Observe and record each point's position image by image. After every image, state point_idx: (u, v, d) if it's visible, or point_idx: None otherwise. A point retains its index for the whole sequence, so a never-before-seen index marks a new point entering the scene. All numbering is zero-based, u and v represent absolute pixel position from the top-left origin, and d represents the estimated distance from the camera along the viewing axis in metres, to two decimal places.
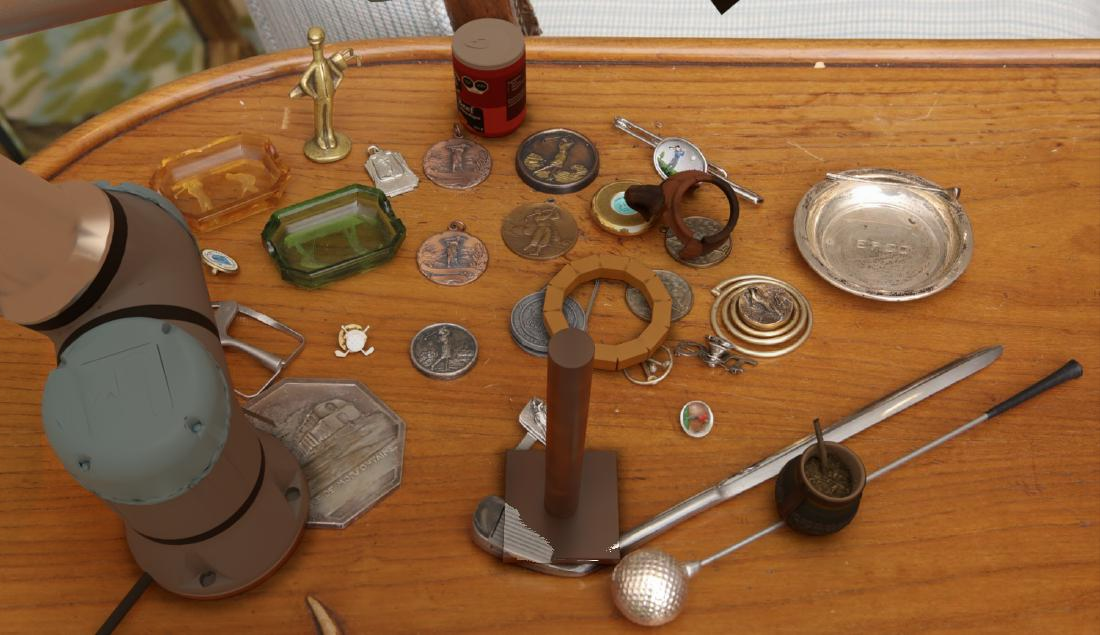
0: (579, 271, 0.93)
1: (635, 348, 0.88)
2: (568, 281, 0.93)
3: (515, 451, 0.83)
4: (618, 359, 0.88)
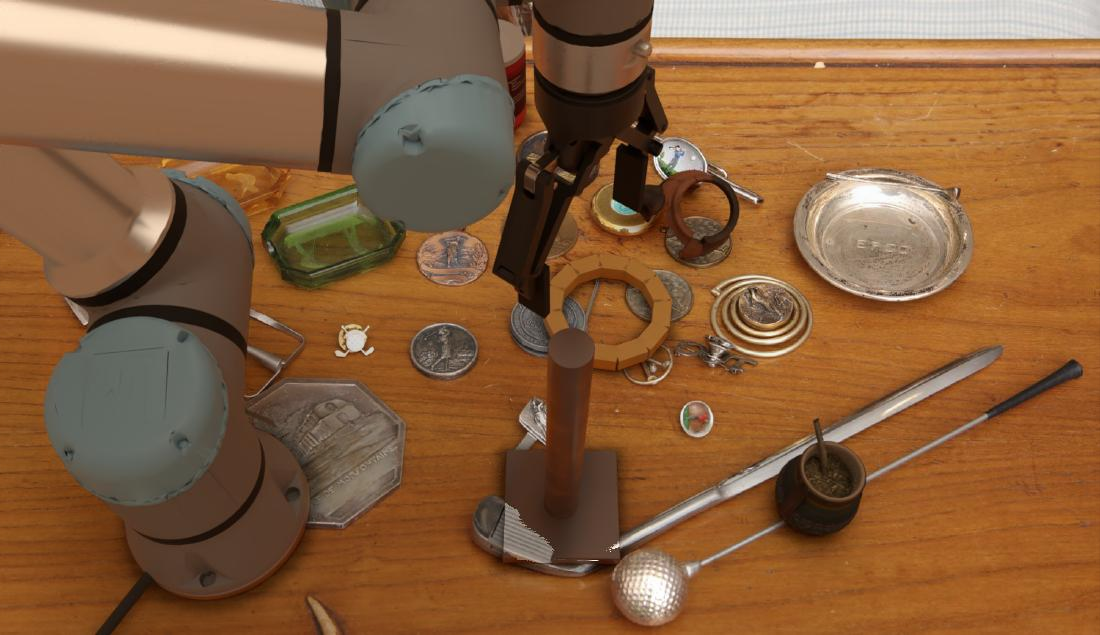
0: (579, 271, 0.93)
1: (635, 348, 0.88)
2: (568, 281, 0.93)
3: (515, 451, 0.83)
4: (618, 359, 0.88)
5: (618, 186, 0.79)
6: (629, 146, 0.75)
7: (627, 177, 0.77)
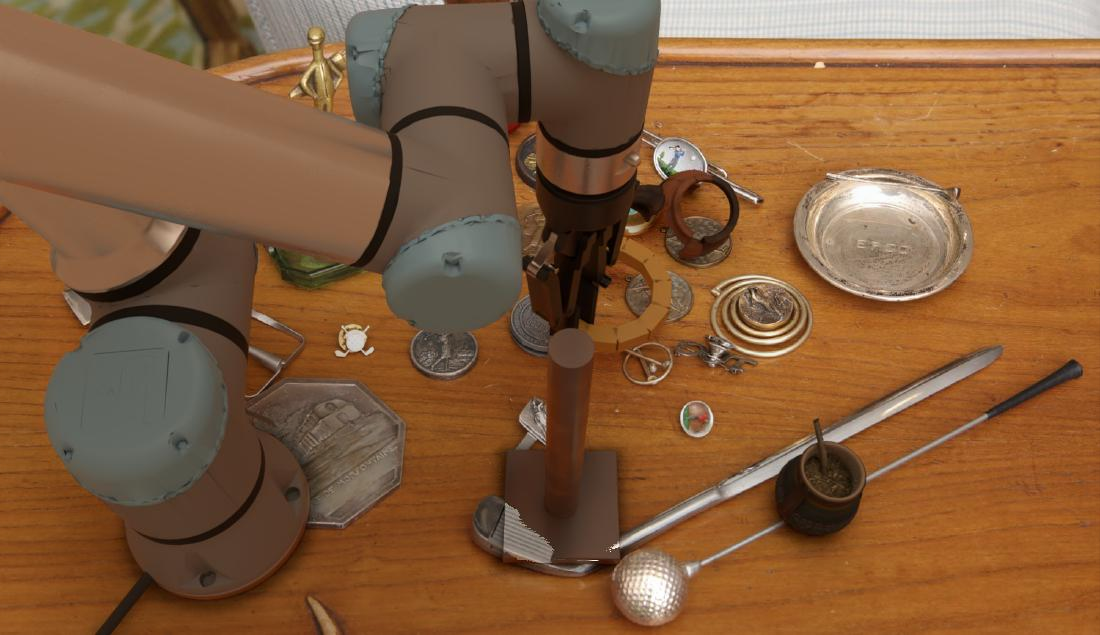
0: None
1: (635, 329, 0.85)
2: None
3: (515, 451, 0.83)
4: (618, 341, 0.85)
5: None
6: (581, 276, 0.82)
7: (579, 302, 0.84)
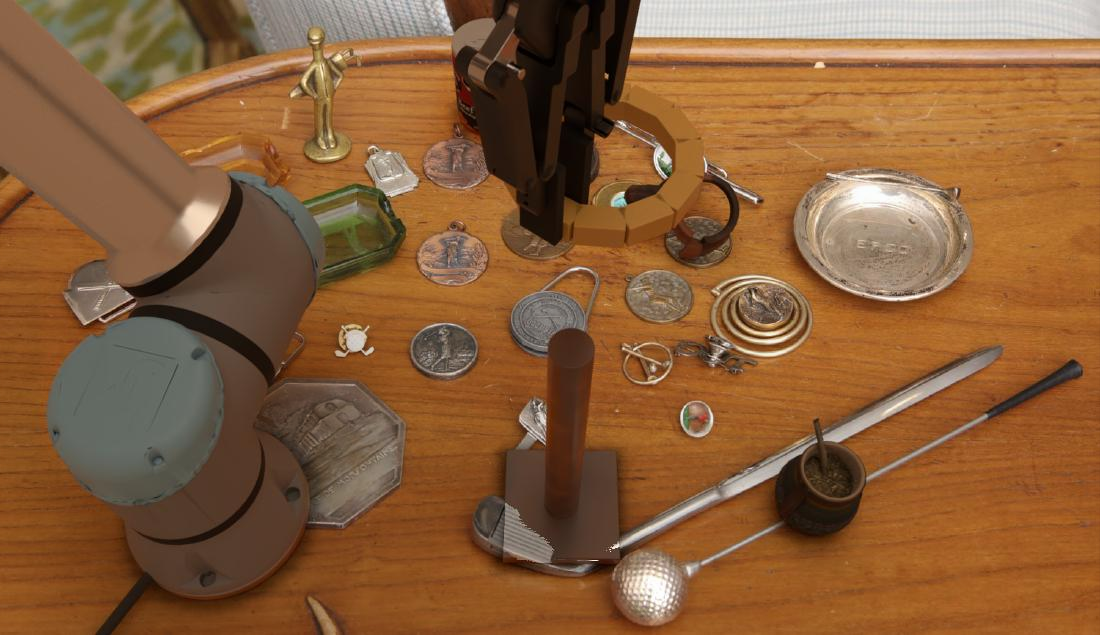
0: None
1: (653, 209, 0.55)
2: None
3: (515, 451, 0.83)
4: (628, 226, 0.55)
5: None
6: (566, 122, 0.52)
7: None
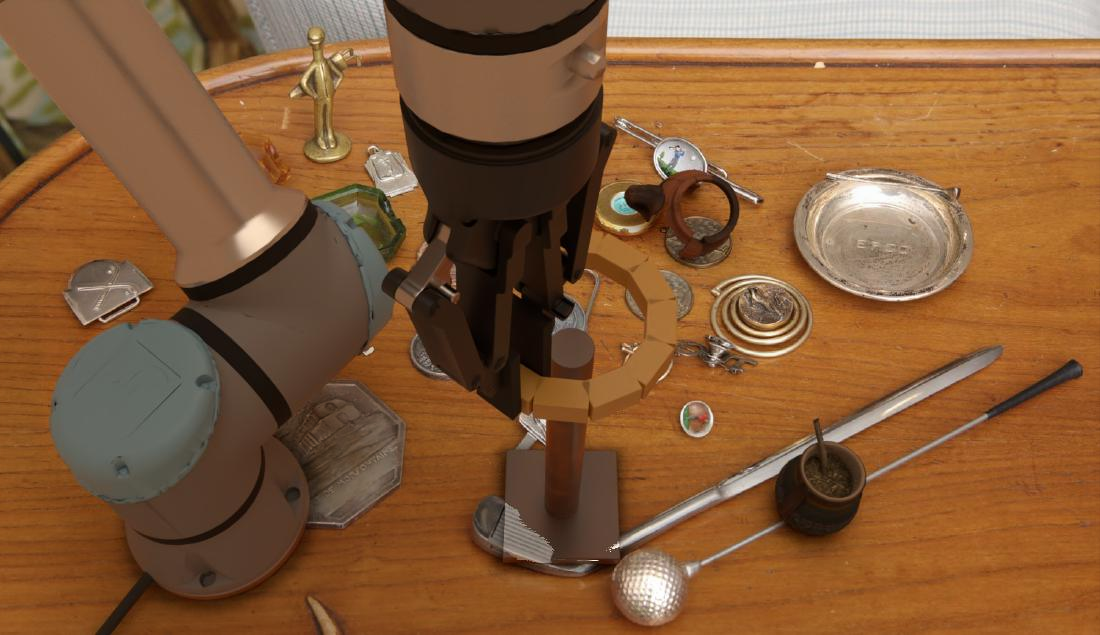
0: None
1: (620, 384, 0.52)
2: None
3: (515, 451, 0.83)
4: (591, 404, 0.51)
5: None
6: (523, 300, 0.48)
7: (523, 342, 0.50)
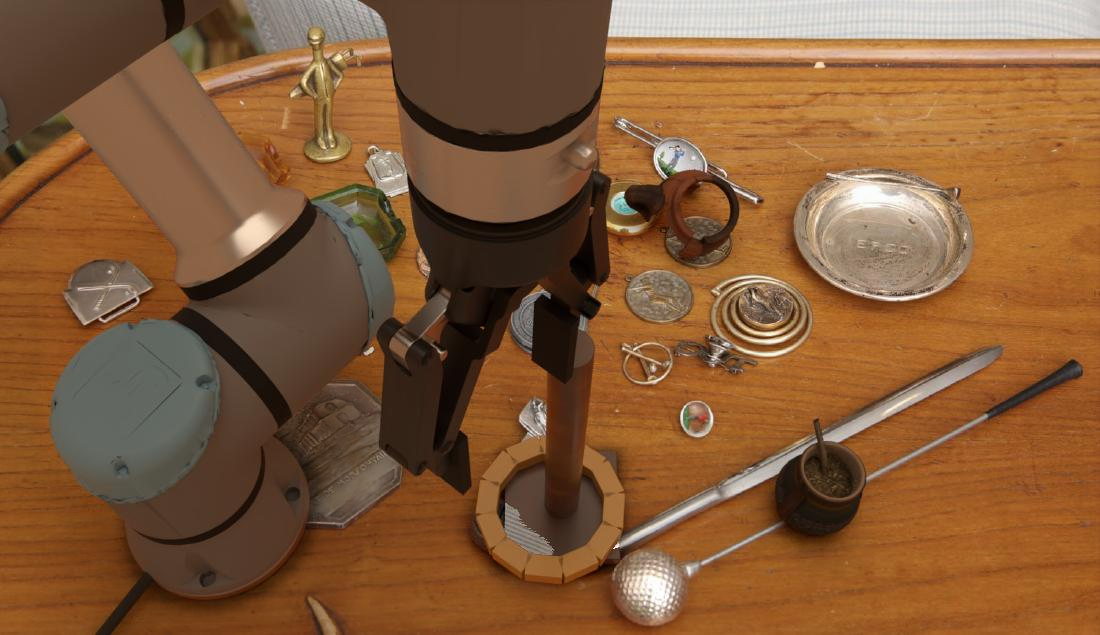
0: (517, 460, 0.80)
1: (583, 558, 0.76)
2: (504, 473, 0.80)
3: None
4: (564, 574, 0.75)
5: (538, 347, 0.56)
6: (552, 300, 0.52)
7: (549, 340, 0.54)
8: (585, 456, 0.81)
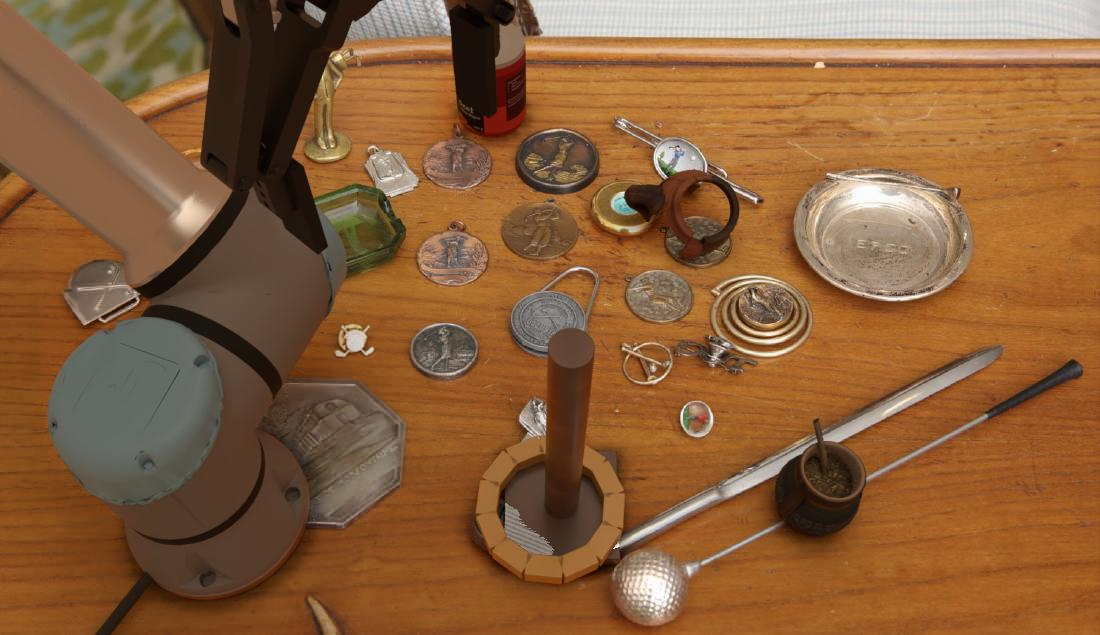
0: (517, 460, 0.80)
1: (583, 558, 0.76)
2: (504, 473, 0.80)
3: None
4: (564, 574, 0.75)
5: (460, 76, 0.54)
6: (468, 9, 0.51)
7: (468, 60, 0.53)
8: (585, 456, 0.81)
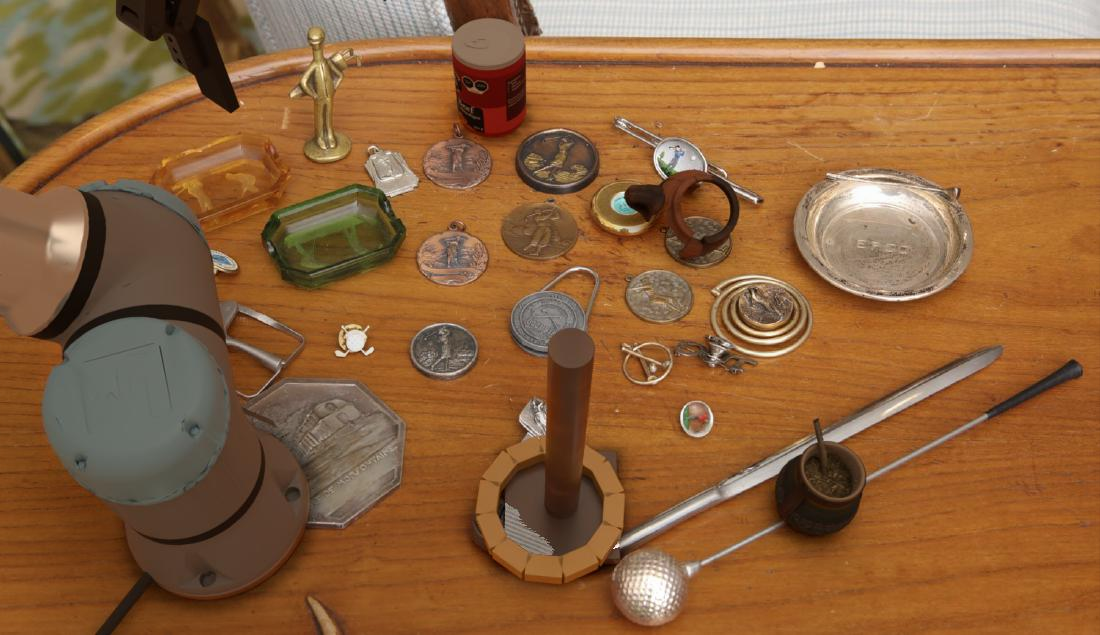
0: (517, 460, 0.80)
1: (583, 558, 0.76)
2: (504, 473, 0.80)
3: None
4: (564, 574, 0.75)
5: None
6: None
7: None
8: (585, 456, 0.81)
